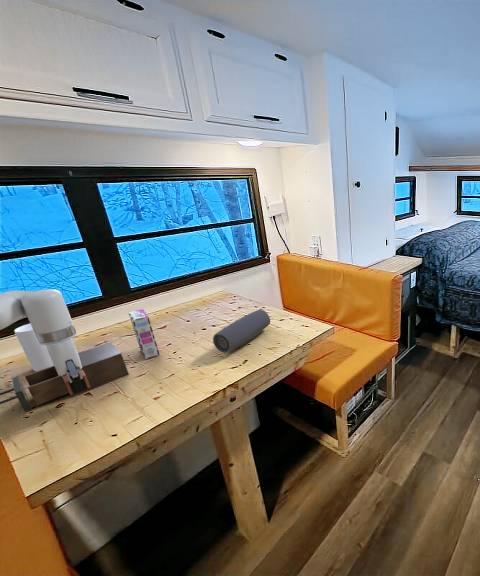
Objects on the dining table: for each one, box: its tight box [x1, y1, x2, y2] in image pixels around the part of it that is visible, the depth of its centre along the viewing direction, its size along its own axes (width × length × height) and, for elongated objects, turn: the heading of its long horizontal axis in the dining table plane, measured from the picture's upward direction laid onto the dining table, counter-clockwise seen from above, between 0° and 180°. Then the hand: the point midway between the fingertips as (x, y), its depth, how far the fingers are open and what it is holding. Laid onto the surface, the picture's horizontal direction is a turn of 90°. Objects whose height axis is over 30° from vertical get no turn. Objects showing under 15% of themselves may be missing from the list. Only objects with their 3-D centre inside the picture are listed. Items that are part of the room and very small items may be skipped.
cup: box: [13, 323, 54, 372], centre depth 110 cm, size 8×8×16 cm
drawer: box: [0, 366, 70, 413], centre depth 93 cm, size 21×11×7 cm, turn 142°
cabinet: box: [62, 341, 130, 398], centre depth 103 cm, size 15×13×9 cm
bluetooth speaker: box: [212, 309, 271, 354], centre depth 124 cm, size 23×9×10 cm, turn 161°
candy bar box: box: [128, 308, 161, 360], centre depth 116 cm, size 11×5×16 cm, turn 45°
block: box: [63, 370, 90, 396], centre depth 90 cm, size 4×4×4 cm
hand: (78, 387), depth 91 cm, fingers closed on block, 4 cm apart
